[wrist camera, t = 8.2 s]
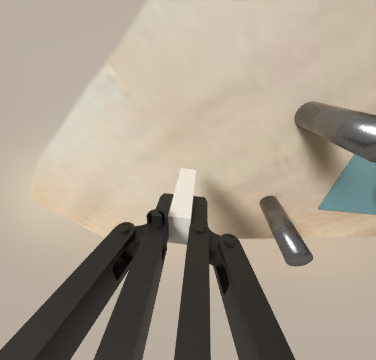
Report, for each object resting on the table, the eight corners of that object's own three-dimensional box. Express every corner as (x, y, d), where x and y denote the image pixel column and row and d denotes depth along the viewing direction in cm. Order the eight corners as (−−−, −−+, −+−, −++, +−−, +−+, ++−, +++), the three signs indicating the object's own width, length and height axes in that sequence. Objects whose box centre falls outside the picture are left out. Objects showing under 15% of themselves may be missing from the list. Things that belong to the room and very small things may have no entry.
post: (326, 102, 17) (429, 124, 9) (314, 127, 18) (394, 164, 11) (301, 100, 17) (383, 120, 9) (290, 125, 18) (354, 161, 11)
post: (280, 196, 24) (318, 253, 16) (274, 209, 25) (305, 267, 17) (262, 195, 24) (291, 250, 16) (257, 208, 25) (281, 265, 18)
